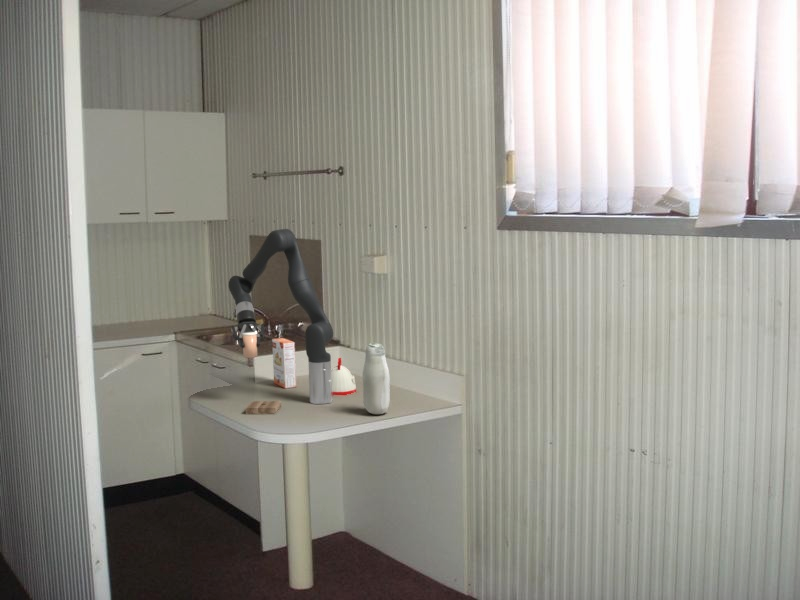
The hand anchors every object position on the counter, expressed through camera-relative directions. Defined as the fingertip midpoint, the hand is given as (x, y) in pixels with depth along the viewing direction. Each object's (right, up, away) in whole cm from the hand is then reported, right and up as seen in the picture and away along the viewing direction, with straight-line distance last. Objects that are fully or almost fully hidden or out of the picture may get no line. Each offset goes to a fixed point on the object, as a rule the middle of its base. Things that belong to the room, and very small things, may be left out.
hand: (250, 346), depth 381 cm
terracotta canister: (0, -4, +2) cm, 5 cm away
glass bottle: (+53, -26, -20) cm, 62 cm away
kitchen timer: (+36, -21, +21) cm, 47 cm away
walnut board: (+7, -25, -11) cm, 28 cm away
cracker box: (+9, -20, +38) cm, 44 cm away
